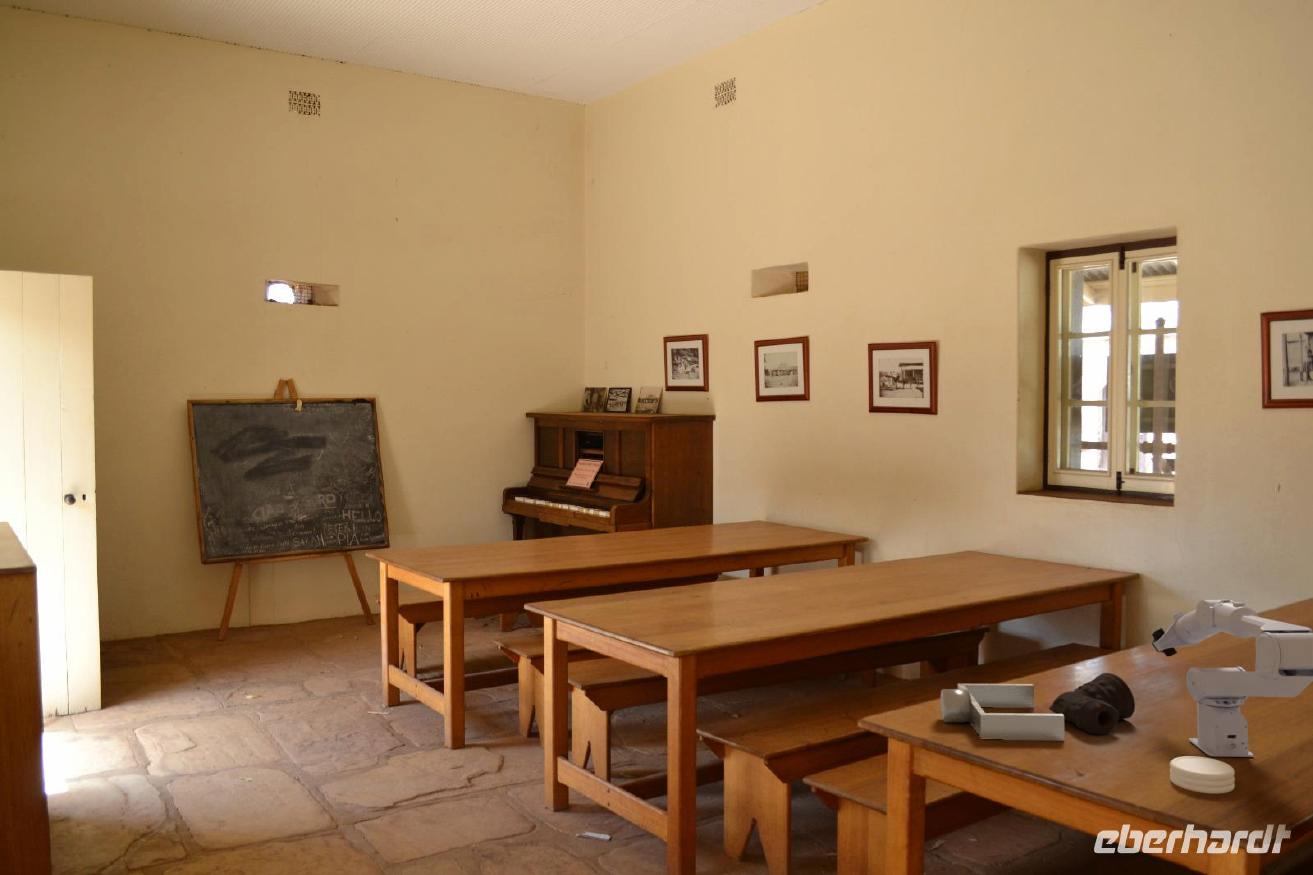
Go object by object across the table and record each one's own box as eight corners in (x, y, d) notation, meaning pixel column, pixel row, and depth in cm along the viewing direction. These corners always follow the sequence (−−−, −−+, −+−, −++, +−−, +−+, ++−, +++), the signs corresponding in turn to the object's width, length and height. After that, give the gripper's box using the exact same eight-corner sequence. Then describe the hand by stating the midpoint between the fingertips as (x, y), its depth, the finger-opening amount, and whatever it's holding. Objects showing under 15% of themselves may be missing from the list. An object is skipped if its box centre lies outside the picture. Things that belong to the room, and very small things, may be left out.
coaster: (1208, 772, 183) (1207, 753, 183) (1248, 792, 173) (1248, 772, 173) (1157, 776, 181) (1157, 757, 181) (1195, 797, 172) (1195, 776, 171)
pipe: (1084, 701, 202) (1144, 681, 206) (1037, 686, 217) (1094, 668, 221) (1094, 748, 202) (1154, 727, 206) (1046, 731, 217) (1103, 711, 221)
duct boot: (1064, 740, 201) (1064, 706, 201) (954, 739, 203) (953, 705, 203) (1032, 706, 224) (1032, 676, 224) (934, 705, 226) (933, 675, 226)
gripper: (1216, 591, 205) (1187, 607, 217) (1155, 623, 203) (1130, 637, 215) (1238, 622, 202) (1208, 636, 214) (1177, 655, 200) (1151, 667, 213)
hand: (1171, 639), depth 215 cm, fingers open, 7 cm apart
